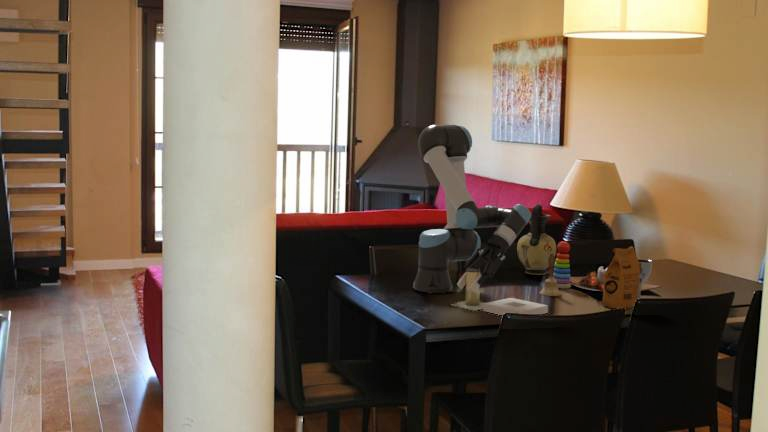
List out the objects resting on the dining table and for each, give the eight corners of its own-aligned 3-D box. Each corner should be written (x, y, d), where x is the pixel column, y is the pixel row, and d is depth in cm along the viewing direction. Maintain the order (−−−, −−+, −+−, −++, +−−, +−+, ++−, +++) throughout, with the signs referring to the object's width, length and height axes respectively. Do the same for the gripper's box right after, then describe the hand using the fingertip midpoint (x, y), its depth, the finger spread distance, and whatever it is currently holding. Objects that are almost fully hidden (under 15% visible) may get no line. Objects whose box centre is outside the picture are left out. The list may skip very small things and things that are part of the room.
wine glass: (646, 302, 331) (649, 263, 330) (625, 299, 336) (628, 260, 334) (652, 298, 338) (654, 260, 336) (631, 295, 342) (634, 258, 341)
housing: (483, 311, 307) (483, 303, 306) (510, 305, 318) (510, 297, 318) (520, 320, 296) (520, 311, 295) (547, 313, 307) (547, 305, 307)
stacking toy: (570, 289, 351) (573, 243, 349) (550, 288, 352) (553, 242, 350) (570, 286, 359) (573, 240, 356) (551, 284, 360) (553, 239, 358)
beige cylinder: (462, 304, 315) (463, 268, 314) (471, 302, 319) (472, 267, 318) (473, 306, 312) (474, 270, 310) (482, 304, 315) (483, 268, 314)
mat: (448, 305, 315) (448, 304, 315) (469, 301, 324) (470, 299, 323) (474, 311, 307) (475, 310, 307) (495, 307, 315) (496, 305, 315)
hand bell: (548, 296, 336) (550, 255, 334) (535, 292, 343) (537, 252, 341) (565, 295, 340) (567, 254, 338) (552, 291, 347) (554, 251, 345)
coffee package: (597, 305, 323) (601, 246, 321) (620, 302, 330) (624, 244, 328) (618, 310, 315) (622, 250, 313) (641, 307, 322) (645, 248, 320)
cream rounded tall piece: (515, 268, 396) (519, 202, 392) (553, 270, 393) (557, 204, 390) (516, 275, 378) (519, 206, 375) (555, 277, 376) (559, 208, 372)
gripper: (525, 250, 314) (489, 300, 306) (488, 243, 329) (453, 290, 322) (514, 237, 310) (478, 286, 303) (478, 230, 326) (442, 277, 318)
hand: (465, 288), depth 312 cm, fingers open, 6 cm apart
